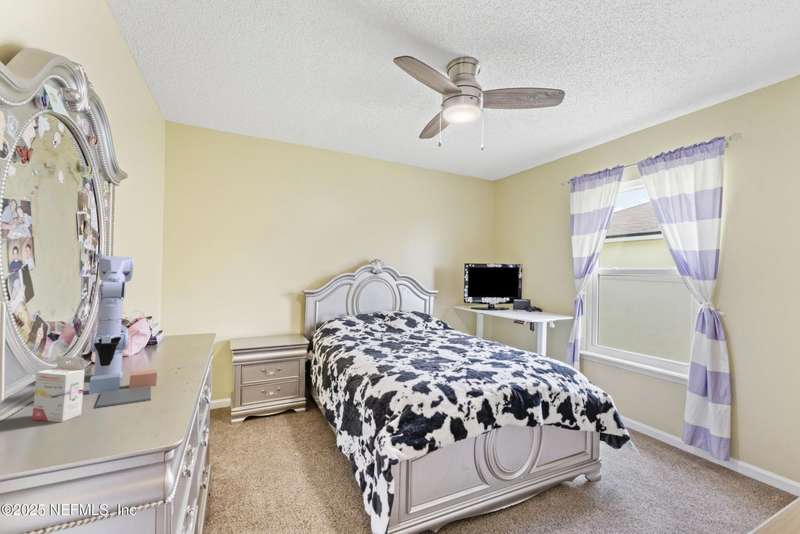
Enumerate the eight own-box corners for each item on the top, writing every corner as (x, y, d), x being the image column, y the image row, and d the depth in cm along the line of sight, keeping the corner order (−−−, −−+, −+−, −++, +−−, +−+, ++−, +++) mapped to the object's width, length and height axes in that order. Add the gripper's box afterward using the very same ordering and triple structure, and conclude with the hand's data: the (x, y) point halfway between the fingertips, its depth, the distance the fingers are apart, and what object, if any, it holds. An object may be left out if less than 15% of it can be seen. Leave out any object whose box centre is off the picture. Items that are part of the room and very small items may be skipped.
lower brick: (90, 391, 105) (91, 376, 105) (119, 387, 109) (120, 373, 109) (88, 395, 101) (89, 379, 102) (118, 391, 106) (120, 376, 106)
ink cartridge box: (30, 420, 83) (35, 359, 83) (52, 412, 88) (57, 355, 88) (61, 423, 82) (66, 361, 83) (82, 415, 87) (87, 357, 88)
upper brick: (129, 386, 111) (130, 372, 111) (155, 383, 115) (156, 369, 115) (128, 390, 107) (130, 375, 107) (156, 386, 111) (157, 372, 112)
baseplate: (101, 393, 103) (101, 391, 103) (150, 387, 110) (150, 385, 110) (95, 408, 91) (95, 405, 91) (150, 400, 99) (150, 398, 99)
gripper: (124, 321, 103) (121, 366, 102) (127, 316, 115) (124, 357, 114) (93, 322, 99) (90, 369, 98) (100, 317, 110) (96, 359, 110)
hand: (106, 363), depth 106 cm, fingers open, 7 cm apart
